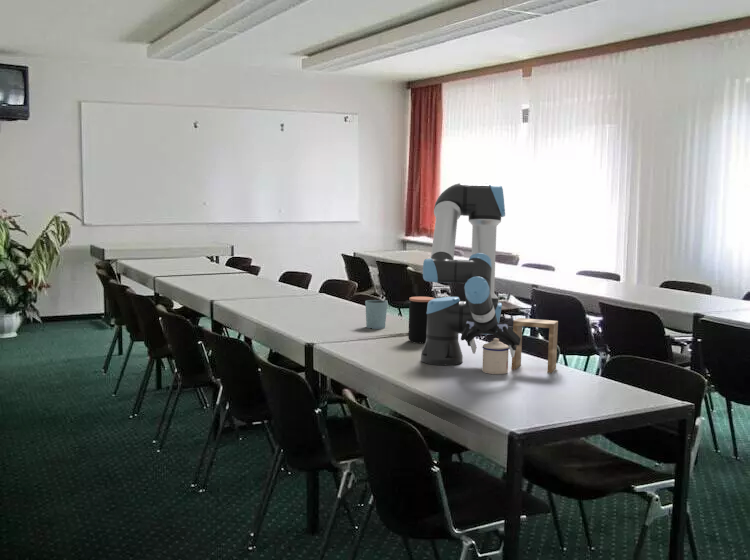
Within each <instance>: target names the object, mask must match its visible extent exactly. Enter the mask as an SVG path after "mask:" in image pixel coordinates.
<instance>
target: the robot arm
mask: <svg viewBox="0 0 750 560" xmlns="http://www.w3.org/2000/svg"><path fill="white" fill-rule="evenodd" d="M433 214H434V217H435V224H434V231H433V239H432V247H431V253H430V258H426V259H424V260H423V265H422V278H423V280H424V281H425V282H431V283H453V284H454V283H457V284H464V287H463V289H464V294H465V295H464V296H465V301H464V300H461V299H460V297H459V296H444V297H436V298H435V299H432V300H430V301H429V302H428V305H427V312H426V314H427V331H426V342H425V343H424V346H423V348H422V351H421V353H420V361H421V362H422V363H424V364H428V365H434V366H452V365H453V366H454V365H455V366H456V365H459V364H460V365H461V364H462V363H463V361H464V360H463V359H464V357H463V352H462V349H461V345H460V343H459V334H461V336H460V340H461V341H464V340H465V341H466V343H467V346H468V347H470V348H471V352H472V354H476V351H477V344H476V341H475V338H476V337H477V336H480V335H483V336H485V335H486V336H487V335H490V336H491V335H493V336H494V337H495V338H497V337H498V339H501V340H502V341H504V342H505V343H507V345H508V346H509V352H510V355H511V358H512V357H514V355H515V350H516V348H517V345H520V340H521V338H520V337H519V336H518V335H517V334H516V333H515V332H514V331H513V328H511V327H510V325H509V324H508V323H507V321H505V322H503V323H500V320H501V314H502V313H501V312H502V308H503V307H502V306H503V303H502V302H499V297H498V295H496V293H495V286H496V285H495V284H496V283H495V282H496V281H495V280H496V279H495V277H496V249H497V227H498V225H499V224H500V223H501V222H502V218H504V217H506V208H505V196H504V189H503V186H502V185H501V184H499V183H497V184H496V183H465V182H464V183H463V182H461V183H460V182H459V183H456V184H453V185H451V186H449V187H448V188H446V189H445V190H444V191H442V193H440V195H439V196H438V198H437V199H436V202H435V204H434V209H433ZM461 216H463V217H465V216H467V217H468V222H469V223H470V224H471V225H472V232H471V255H470V257H469V259H454V258H455V247H456V239H457V237H456V236H457V229H458V228H457V227H458V220H459V219H460V217H461Z"/></svg>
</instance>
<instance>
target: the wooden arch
mask: <svg viewBox="0 0 750 560" xmlns="http://www.w3.org/2000/svg"><path fill="white" fill-rule="evenodd" d="M512 323H513V324H512V330H513V331H514V332H515V333H516V334H517V335H518V336H519V337H520V338H521V340H520V345H517V348H516V350H515V355H514V357H511V370H517V369H518V368H519V367H520V366H521V365H522V346H523V345H522V344H523V327H529V328H542V329H548V347H547V348H548V352H547V353H548V354H547V373H548V374H553V372H555V370H556V369H557V356H558V355H557V354H558V352H557V350H558V349H557V348H558V331H559V320H551V319H550V320H549V319H539V318H536V319H535V318H525V317H523V318H522V317H518V318H515V319H514V320H513V321H512Z"/></svg>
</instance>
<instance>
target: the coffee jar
mask: <svg viewBox="0 0 750 560" xmlns="http://www.w3.org/2000/svg"><path fill="white" fill-rule="evenodd" d="M408 299H409V301H410V302H409V304H408V307H409V308H408V336H407V337H408V340H409V342H410V341H411V342H410V343H413V342H415V343H414V344H425V342H426V331H427V314H426V312H427V305H428V302H429V301H430V300H432V299H436V298H435V297H430V296H411V297H409V298H408Z"/></svg>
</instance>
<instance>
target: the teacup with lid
mask: <svg viewBox="0 0 750 560" xmlns="http://www.w3.org/2000/svg"><path fill="white" fill-rule="evenodd" d="M482 350H483V351H482V368H481V369H482V372H483V373H485V374H489V375H490V374H491V375H505V374H507V373H508V371H509V352H510V349H509V344H506V343H504V342H502V341H500V338H499V337H498V338H497V337H495V338H492V340H491V341H489V342H488V343H485V344H484V343H483V345H482Z"/></svg>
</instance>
